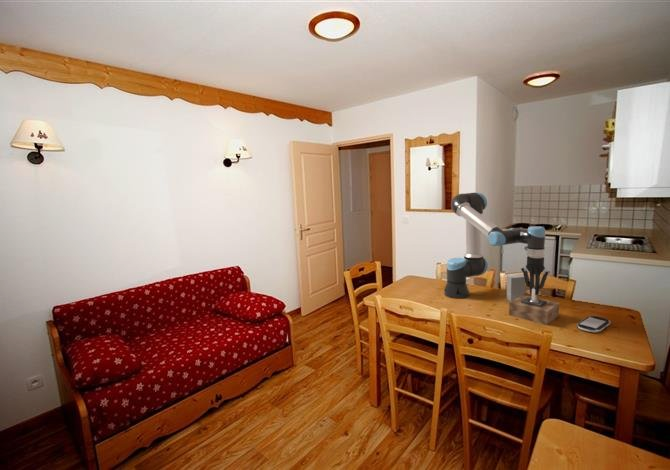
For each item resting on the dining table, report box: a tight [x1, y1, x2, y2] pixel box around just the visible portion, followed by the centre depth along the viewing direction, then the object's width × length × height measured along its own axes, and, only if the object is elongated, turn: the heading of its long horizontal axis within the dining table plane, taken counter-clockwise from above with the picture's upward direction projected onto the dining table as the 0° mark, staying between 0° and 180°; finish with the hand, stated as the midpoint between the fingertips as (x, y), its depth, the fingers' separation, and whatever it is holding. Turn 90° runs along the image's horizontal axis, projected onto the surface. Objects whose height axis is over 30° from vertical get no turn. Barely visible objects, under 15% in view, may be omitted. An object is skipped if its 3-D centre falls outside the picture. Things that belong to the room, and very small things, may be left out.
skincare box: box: [506, 273, 526, 302], centre depth 189 cm, size 8×7×16 cm
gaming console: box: [576, 315, 611, 334], centre depth 153 cm, size 19×9×2 cm, turn 122°
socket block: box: [508, 294, 560, 326], centre depth 168 cm, size 18×16×8 cm
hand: (534, 300), depth 167 cm, fingers closed
